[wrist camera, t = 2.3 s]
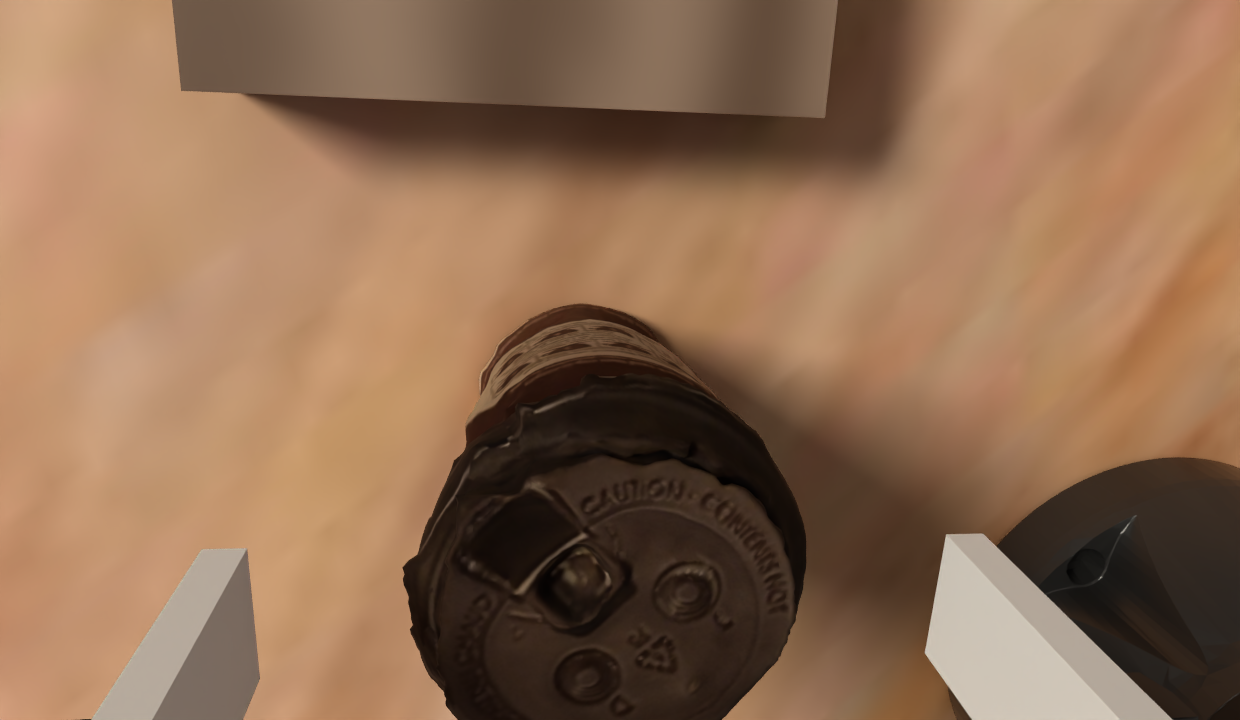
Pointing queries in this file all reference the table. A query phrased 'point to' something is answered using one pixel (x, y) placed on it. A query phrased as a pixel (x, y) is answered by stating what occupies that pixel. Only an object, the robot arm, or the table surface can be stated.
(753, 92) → the block
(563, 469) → the coffee cup
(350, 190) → the table surface
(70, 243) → the table surface
